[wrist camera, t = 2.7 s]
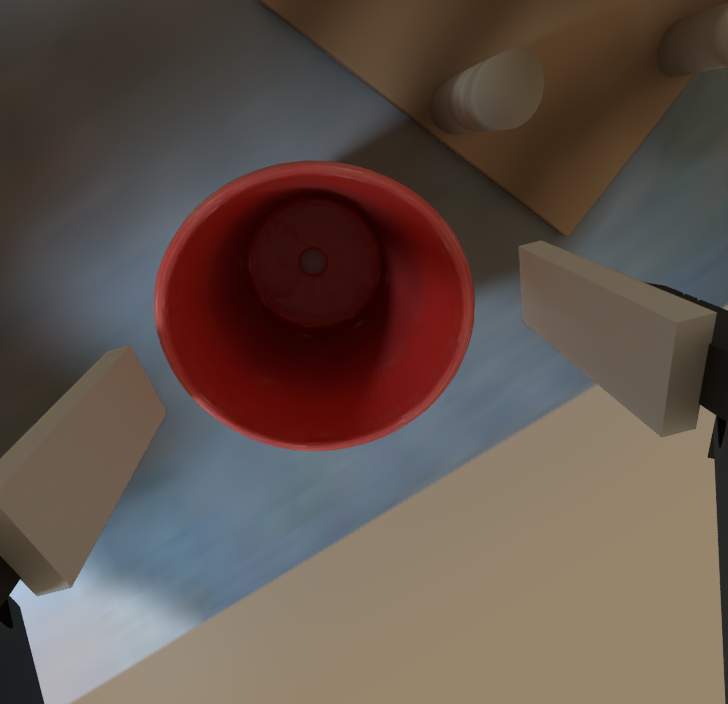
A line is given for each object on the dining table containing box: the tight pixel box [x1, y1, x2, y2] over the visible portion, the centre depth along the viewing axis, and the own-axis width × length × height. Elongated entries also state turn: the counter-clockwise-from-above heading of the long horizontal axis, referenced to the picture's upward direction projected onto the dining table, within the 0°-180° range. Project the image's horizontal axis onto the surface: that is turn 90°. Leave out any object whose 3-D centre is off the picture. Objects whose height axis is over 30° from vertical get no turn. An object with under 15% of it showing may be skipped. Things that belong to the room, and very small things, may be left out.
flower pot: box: [154, 161, 475, 451], centre depth 19 cm, size 11×11×10 cm
